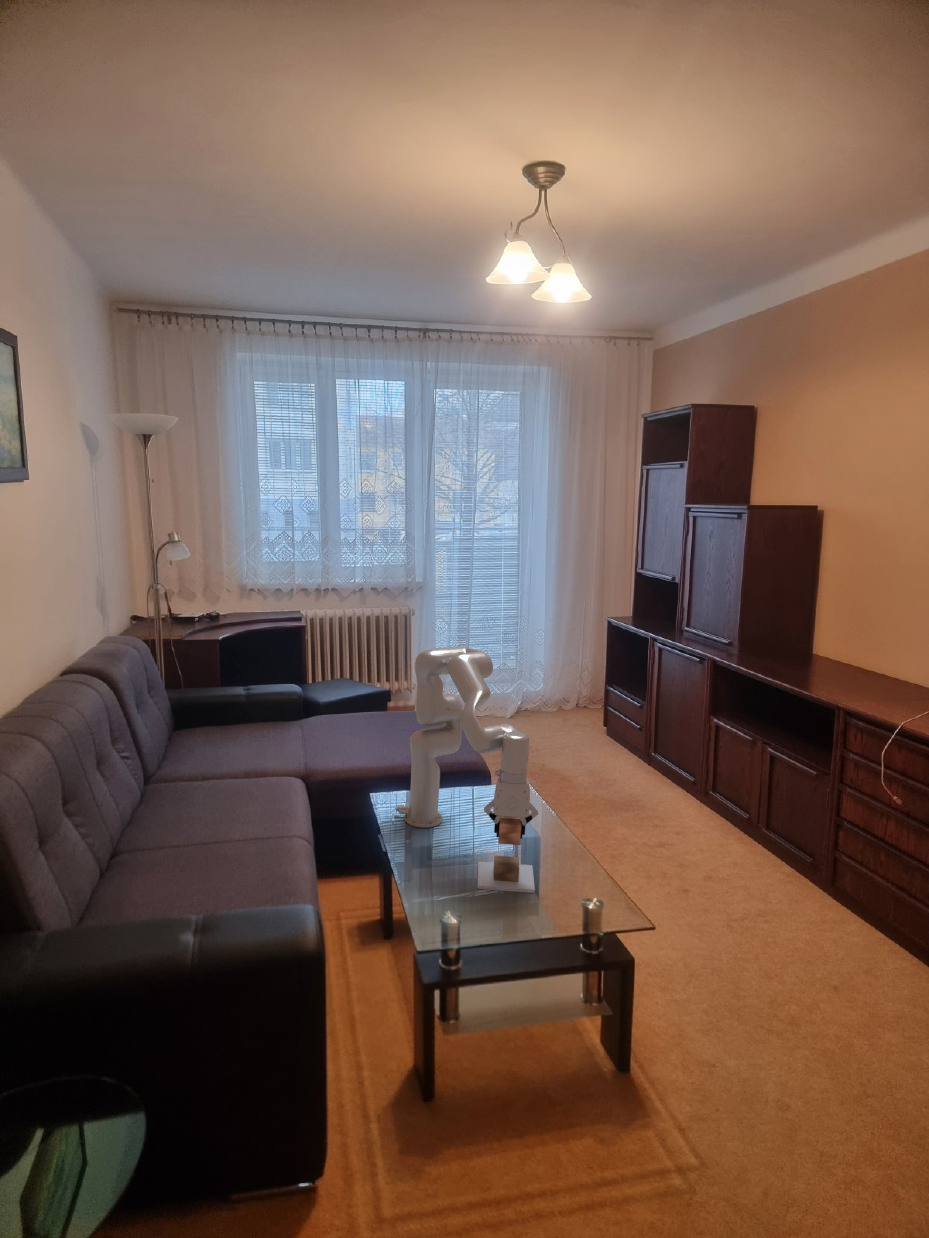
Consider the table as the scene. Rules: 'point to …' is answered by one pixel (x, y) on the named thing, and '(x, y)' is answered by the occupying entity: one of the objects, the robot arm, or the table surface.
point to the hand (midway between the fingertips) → (509, 835)
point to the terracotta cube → (509, 830)
